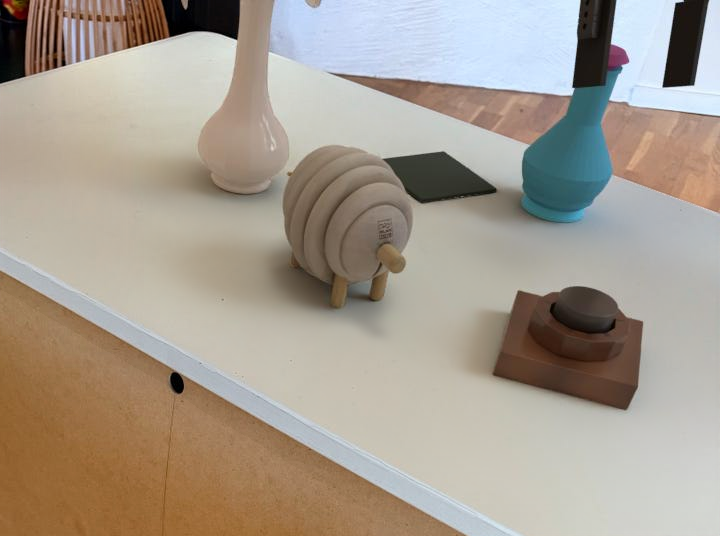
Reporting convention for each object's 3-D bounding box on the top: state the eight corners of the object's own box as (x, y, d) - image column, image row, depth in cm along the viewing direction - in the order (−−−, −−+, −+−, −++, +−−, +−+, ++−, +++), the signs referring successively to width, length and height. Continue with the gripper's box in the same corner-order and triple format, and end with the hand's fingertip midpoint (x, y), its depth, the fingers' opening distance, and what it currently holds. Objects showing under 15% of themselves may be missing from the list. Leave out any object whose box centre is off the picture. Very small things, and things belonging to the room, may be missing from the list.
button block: (633, 343, 81) (652, 301, 78) (626, 410, 74) (648, 366, 71) (510, 312, 82) (524, 270, 79) (492, 374, 75) (507, 330, 72)
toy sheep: (332, 234, 89) (353, 110, 81) (440, 319, 80) (477, 190, 72) (239, 252, 85) (251, 123, 77) (343, 344, 76) (369, 210, 68)
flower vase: (127, 175, 94) (127, -142, 75) (269, 145, 102) (301, -146, 83) (200, 229, 87) (221, -102, 69) (345, 193, 96) (398, -111, 77)
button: (611, 314, 77) (620, 294, 75) (608, 342, 74) (616, 322, 72) (554, 300, 77) (562, 280, 76) (548, 327, 74) (556, 307, 73)
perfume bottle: (498, 187, 100) (546, 29, 89) (577, 191, 102) (634, 35, 91) (524, 226, 95) (578, 62, 83) (608, 230, 96) (672, 69, 85)
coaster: (496, 192, 100) (497, 188, 99) (421, 203, 96) (422, 199, 96) (443, 154, 105) (443, 151, 105) (370, 163, 101) (370, 159, 101)
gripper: (720, -196, 80) (674, 89, 90) (538, -250, 67) (508, 90, 77) (810, -223, 74) (750, 83, 84) (631, -287, 61) (586, 83, 72)
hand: (635, 87), depth 81 cm, fingers open, 13 cm apart
